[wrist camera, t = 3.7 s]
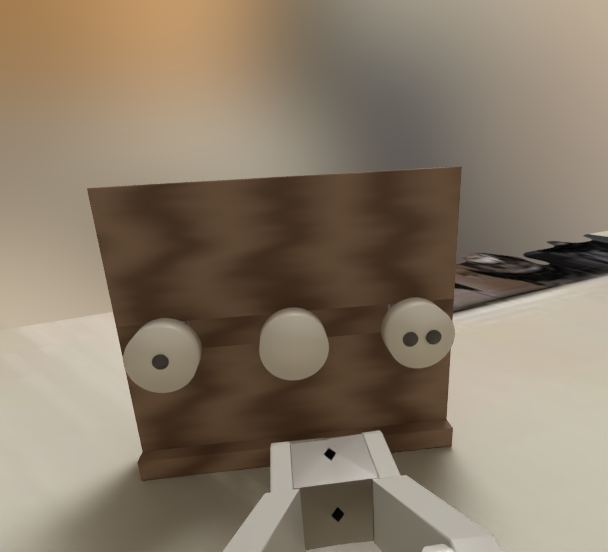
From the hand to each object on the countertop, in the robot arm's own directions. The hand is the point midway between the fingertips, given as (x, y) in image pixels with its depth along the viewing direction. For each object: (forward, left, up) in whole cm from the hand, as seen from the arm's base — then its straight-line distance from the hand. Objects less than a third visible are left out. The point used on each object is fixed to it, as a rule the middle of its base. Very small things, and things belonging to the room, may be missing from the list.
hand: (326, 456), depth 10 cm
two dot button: (+11, +11, -4) cm, 16 cm away
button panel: (+5, +16, -12) cm, 21 cm away
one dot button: (-3, +15, -4) cm, 16 cm away
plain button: (+4, +13, -4) cm, 14 cm away
